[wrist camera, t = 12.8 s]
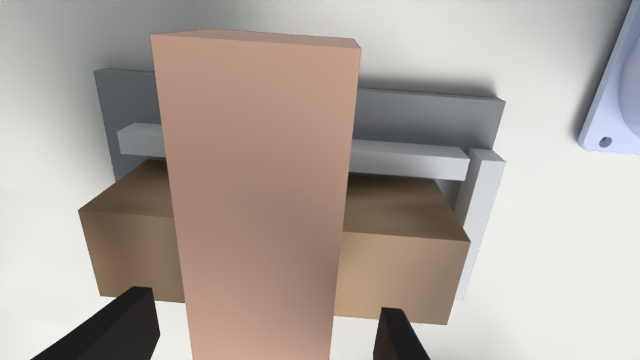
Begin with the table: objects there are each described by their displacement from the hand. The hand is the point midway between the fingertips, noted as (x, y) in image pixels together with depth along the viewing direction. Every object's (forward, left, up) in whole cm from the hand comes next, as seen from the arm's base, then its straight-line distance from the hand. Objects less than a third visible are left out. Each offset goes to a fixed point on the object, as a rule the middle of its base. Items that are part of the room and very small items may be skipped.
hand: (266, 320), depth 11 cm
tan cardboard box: (0, 0, -7) cm, 7 cm away
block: (0, 0, -3) cm, 3 cm away
